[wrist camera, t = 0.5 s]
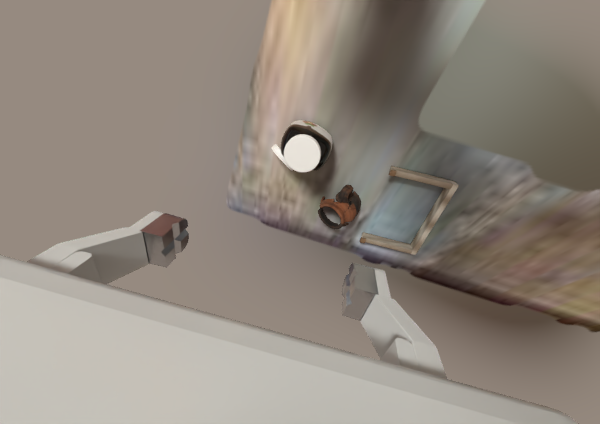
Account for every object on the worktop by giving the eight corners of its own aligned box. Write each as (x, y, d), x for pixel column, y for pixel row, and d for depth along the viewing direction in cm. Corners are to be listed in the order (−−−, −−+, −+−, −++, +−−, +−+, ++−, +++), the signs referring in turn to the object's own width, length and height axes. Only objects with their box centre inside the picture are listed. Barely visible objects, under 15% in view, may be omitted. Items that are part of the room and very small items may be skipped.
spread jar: (337, 133, 50) (336, 147, 40) (316, 176, 56) (310, 198, 46) (287, 108, 49) (273, 117, 40) (271, 155, 55) (255, 173, 46)
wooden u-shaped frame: (389, 165, 52) (391, 170, 49) (454, 181, 51) (460, 187, 49) (359, 235, 63) (360, 242, 60) (412, 248, 62) (415, 256, 60)
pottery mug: (359, 219, 61) (343, 238, 56) (329, 202, 65) (312, 219, 60) (371, 183, 52) (354, 203, 47) (336, 167, 56) (316, 183, 51)
